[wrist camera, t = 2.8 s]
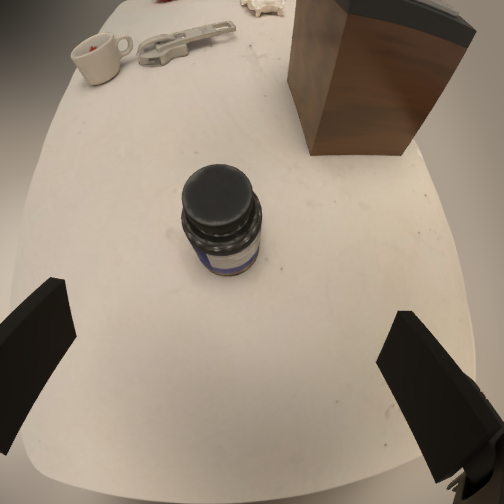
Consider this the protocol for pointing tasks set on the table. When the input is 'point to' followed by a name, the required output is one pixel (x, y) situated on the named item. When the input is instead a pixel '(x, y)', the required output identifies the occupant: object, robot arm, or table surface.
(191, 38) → the zipper pull
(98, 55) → the cup
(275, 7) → the white turtle figurine
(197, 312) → the table surface
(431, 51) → the stand
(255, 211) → the pill bottle
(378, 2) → the scale
